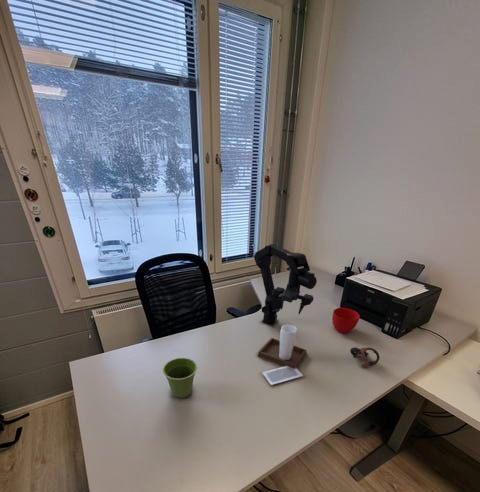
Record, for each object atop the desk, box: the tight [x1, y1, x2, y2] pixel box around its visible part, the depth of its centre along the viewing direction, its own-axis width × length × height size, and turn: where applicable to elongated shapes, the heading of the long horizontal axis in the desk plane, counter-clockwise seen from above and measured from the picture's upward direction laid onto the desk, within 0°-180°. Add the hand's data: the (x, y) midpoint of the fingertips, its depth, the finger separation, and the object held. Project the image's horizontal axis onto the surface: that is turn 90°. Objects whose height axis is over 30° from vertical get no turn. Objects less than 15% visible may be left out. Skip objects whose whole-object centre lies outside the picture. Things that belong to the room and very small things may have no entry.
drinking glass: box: [279, 324, 298, 360], centre depth 115 cm, size 7×7×15 cm
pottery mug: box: [349, 346, 380, 369], centre depth 118 cm, size 12×10×8 cm
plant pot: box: [162, 357, 198, 399], centre depth 97 cm, size 12×12×11 cm
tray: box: [257, 337, 307, 369], centre depth 121 cm, size 18×14×2 cm
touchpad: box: [261, 366, 304, 386], centre depth 109 cm, size 8×15×2 cm, turn 113°
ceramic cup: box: [331, 306, 361, 334], centre depth 142 cm, size 13×17×10 cm
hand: (290, 311), depth 131 cm, fingers open, 9 cm apart
